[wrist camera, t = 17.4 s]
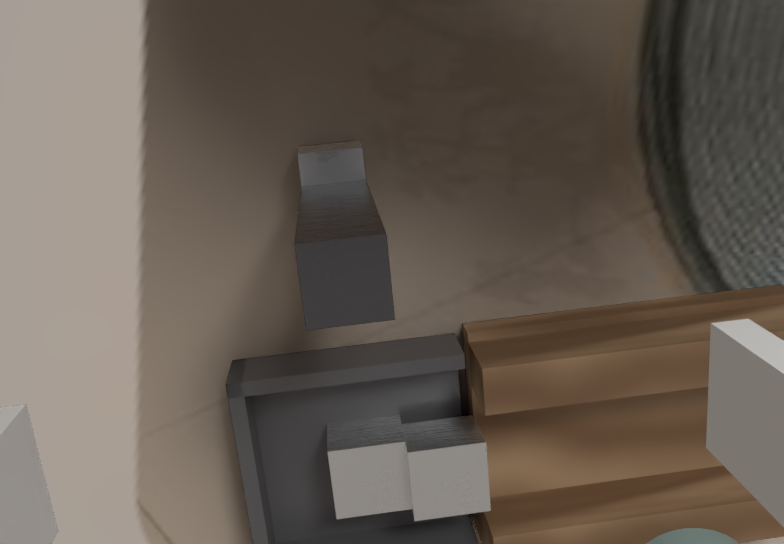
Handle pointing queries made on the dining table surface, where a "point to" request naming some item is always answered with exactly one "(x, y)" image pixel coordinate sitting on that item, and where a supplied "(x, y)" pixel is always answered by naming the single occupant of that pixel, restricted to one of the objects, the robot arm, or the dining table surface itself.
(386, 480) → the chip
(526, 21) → the dining table surface
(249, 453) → the tray
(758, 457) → the robot arm
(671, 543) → the cup
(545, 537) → the slot board
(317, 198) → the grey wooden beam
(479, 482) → the block
